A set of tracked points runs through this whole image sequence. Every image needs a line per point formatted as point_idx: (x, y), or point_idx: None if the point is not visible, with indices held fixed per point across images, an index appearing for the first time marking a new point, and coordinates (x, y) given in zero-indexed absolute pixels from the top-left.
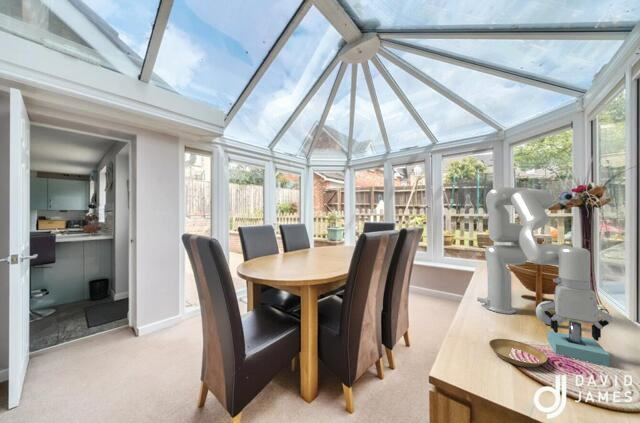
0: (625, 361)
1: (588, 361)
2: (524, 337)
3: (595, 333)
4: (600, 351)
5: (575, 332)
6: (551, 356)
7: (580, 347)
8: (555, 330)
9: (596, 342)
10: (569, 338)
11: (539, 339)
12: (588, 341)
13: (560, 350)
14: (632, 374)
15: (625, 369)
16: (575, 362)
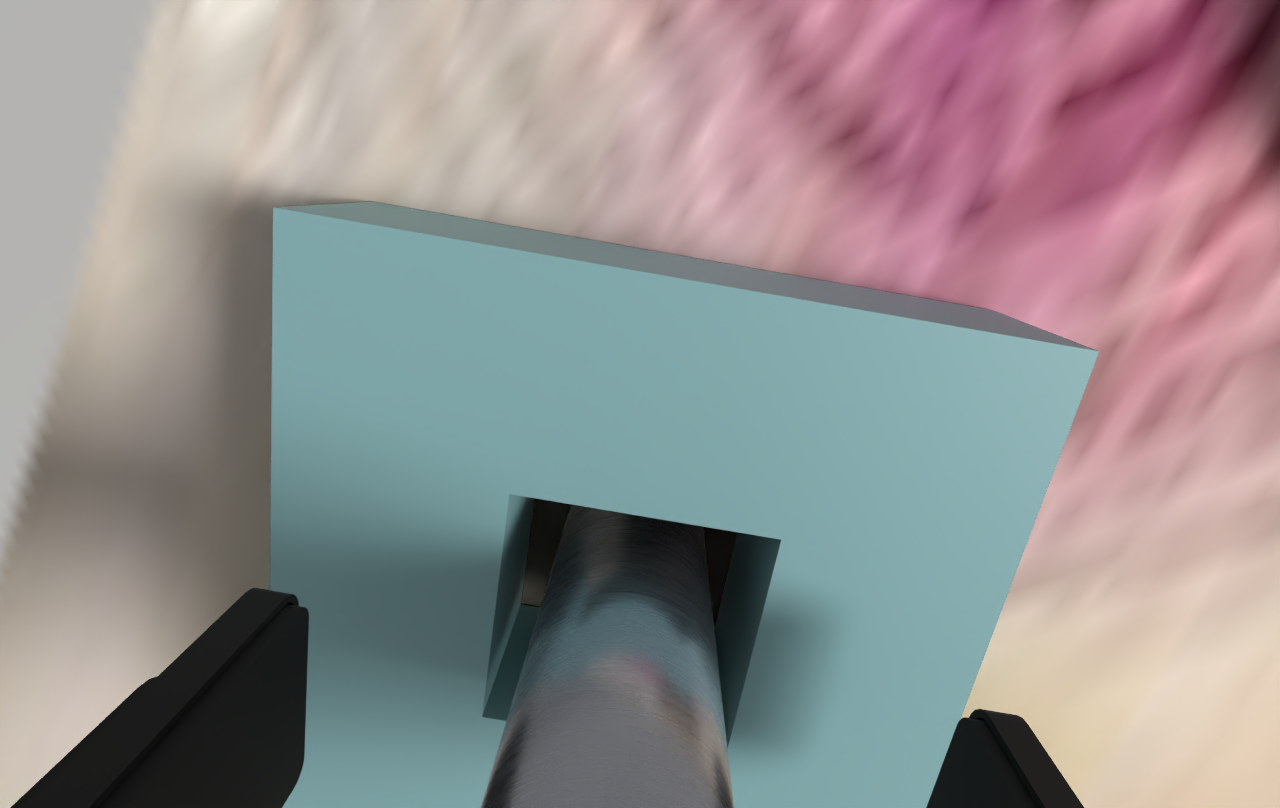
0: (106, 499)
1: (604, 243)
2: (1147, 758)
3: (201, 716)
4: (366, 338)
5: (651, 712)
6: (1102, 210)
7: (661, 379)
8: (1031, 749)
9: None
10: (716, 660)
11: None
12: (395, 718)
13: (970, 314)
14: (158, 79)
15: (191, 222)
16: (813, 140)
